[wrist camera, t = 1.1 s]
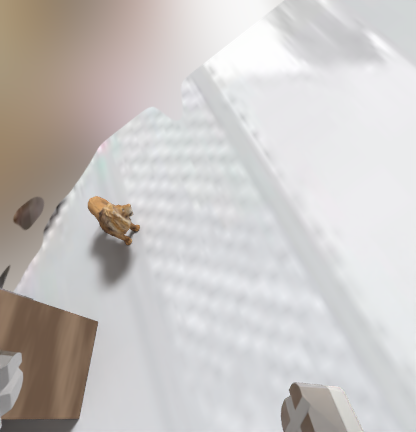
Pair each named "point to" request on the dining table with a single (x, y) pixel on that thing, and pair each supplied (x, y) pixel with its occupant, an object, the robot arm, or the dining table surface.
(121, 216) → the lion figurine
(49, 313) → the brown tall block
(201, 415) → the dining table surface
